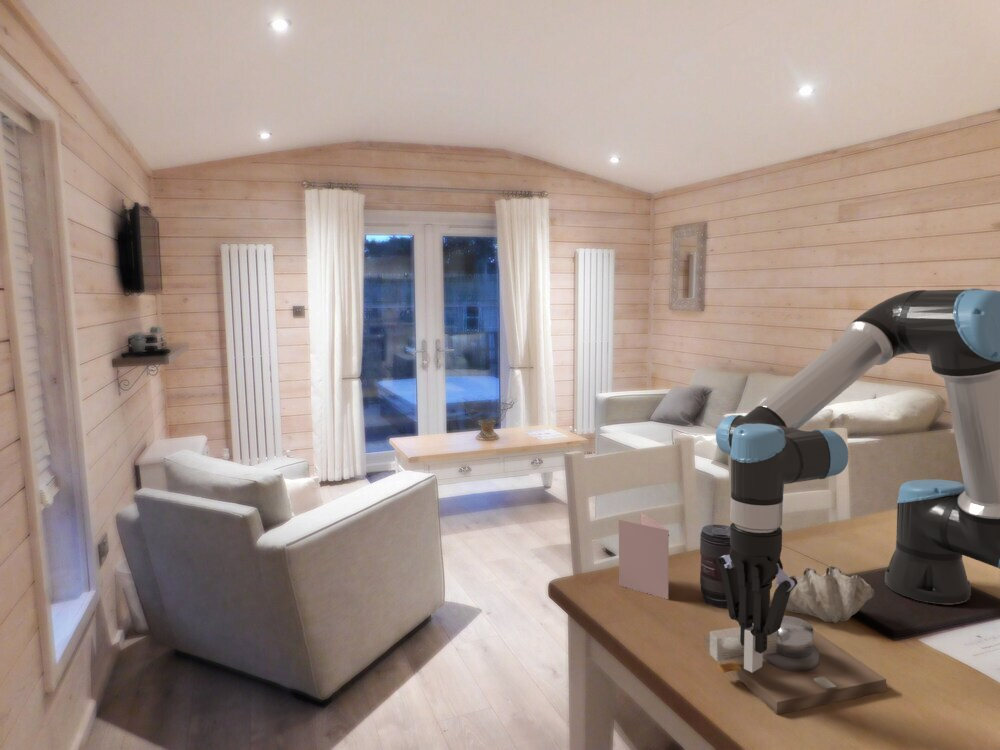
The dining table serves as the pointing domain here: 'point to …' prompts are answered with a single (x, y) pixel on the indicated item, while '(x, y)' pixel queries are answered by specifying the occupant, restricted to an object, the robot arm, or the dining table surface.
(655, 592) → the greeting card
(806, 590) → the seashell
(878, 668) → the dining table surface
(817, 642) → the mount
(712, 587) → the camera lens
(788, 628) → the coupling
